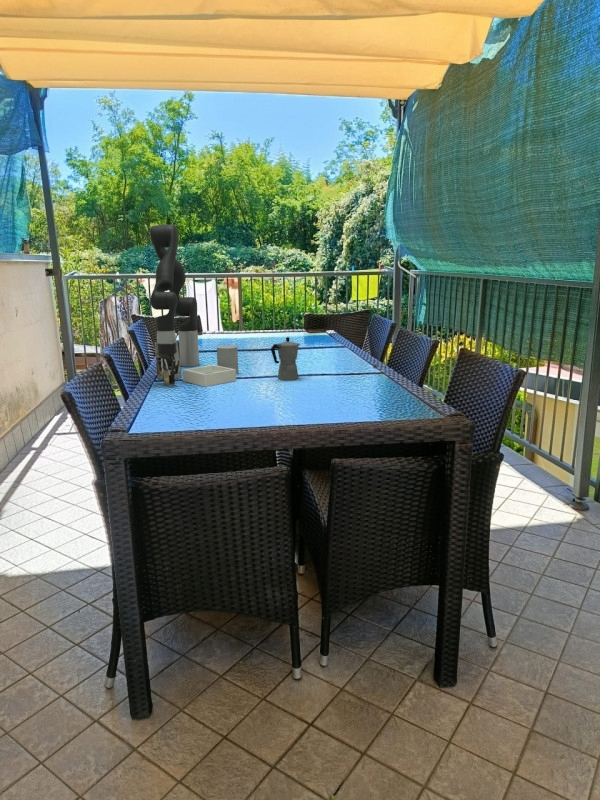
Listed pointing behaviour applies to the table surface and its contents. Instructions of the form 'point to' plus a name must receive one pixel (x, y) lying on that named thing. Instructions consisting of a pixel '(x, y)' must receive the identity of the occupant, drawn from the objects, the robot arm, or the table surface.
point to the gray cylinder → (228, 357)
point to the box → (209, 375)
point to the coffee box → (177, 357)
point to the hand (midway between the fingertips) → (169, 382)
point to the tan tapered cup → (166, 378)
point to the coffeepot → (286, 359)
